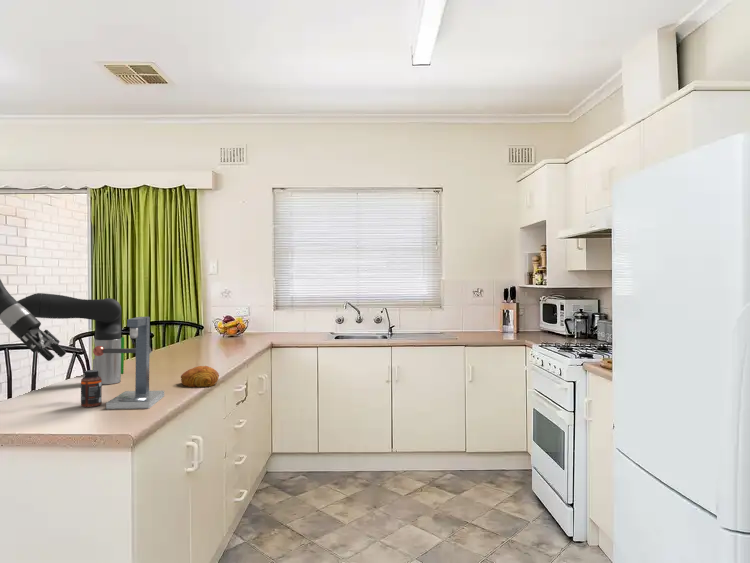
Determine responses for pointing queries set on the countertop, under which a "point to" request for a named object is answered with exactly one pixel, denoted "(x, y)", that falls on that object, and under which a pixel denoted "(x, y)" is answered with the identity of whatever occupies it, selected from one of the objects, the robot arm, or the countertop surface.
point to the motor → (122, 355)
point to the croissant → (200, 377)
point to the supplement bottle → (91, 389)
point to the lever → (113, 350)
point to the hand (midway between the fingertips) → (57, 357)
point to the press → (138, 371)
